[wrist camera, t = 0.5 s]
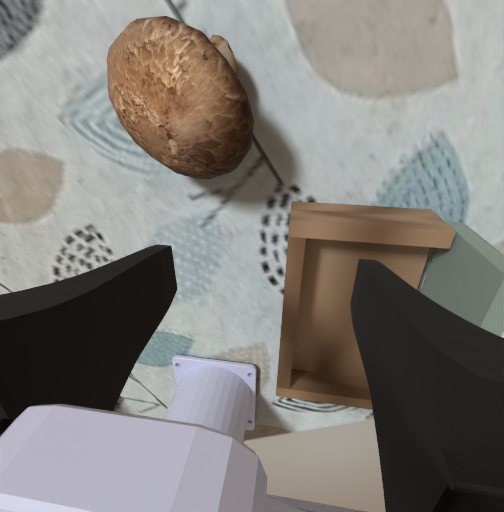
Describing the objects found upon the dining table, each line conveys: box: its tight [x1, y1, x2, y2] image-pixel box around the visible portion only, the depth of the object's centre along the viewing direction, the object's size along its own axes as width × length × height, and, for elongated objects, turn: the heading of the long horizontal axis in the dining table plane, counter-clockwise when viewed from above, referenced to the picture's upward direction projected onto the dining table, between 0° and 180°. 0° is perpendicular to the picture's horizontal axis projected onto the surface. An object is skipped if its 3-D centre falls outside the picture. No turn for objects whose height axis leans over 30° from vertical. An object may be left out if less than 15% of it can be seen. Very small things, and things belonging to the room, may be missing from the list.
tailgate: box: [421, 222, 504, 337], centre depth 18 cm, size 1×15×6 cm, turn 179°
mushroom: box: [107, 16, 254, 179], centre depth 16 cm, size 8×8×6 cm
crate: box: [276, 201, 456, 410], centre depth 21 cm, size 9×15×4 cm, turn 179°
